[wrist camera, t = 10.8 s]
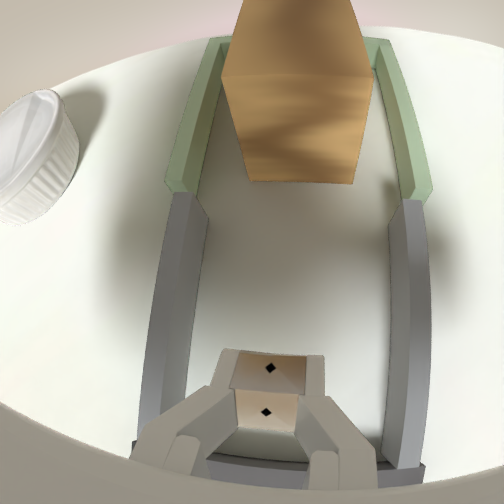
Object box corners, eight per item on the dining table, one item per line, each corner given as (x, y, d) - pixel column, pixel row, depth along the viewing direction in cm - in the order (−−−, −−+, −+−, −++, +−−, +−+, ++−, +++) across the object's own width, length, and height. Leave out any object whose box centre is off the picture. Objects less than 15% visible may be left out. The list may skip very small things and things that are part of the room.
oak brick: (249, 181, 19) (220, 76, 11) (262, 76, 22) (247, -12, 15) (352, 184, 18) (373, 78, 10) (340, 77, 21) (345, -13, 14)
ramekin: (114, 158, 21) (78, 112, 16) (16, 267, 19) (-33, 241, 15) (65, 110, 25) (38, 74, 20) (-10, 192, 23) (-44, 166, 18)
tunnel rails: (162, 433, 14) (136, 443, 12) (192, 218, 18) (174, 192, 16) (399, 451, 12) (419, 466, 10) (404, 226, 16) (421, 200, 14)
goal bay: (179, 203, 19) (164, 180, 17) (216, 61, 24) (210, 38, 21) (418, 211, 17) (432, 189, 14) (384, 63, 21) (389, 39, 19)
